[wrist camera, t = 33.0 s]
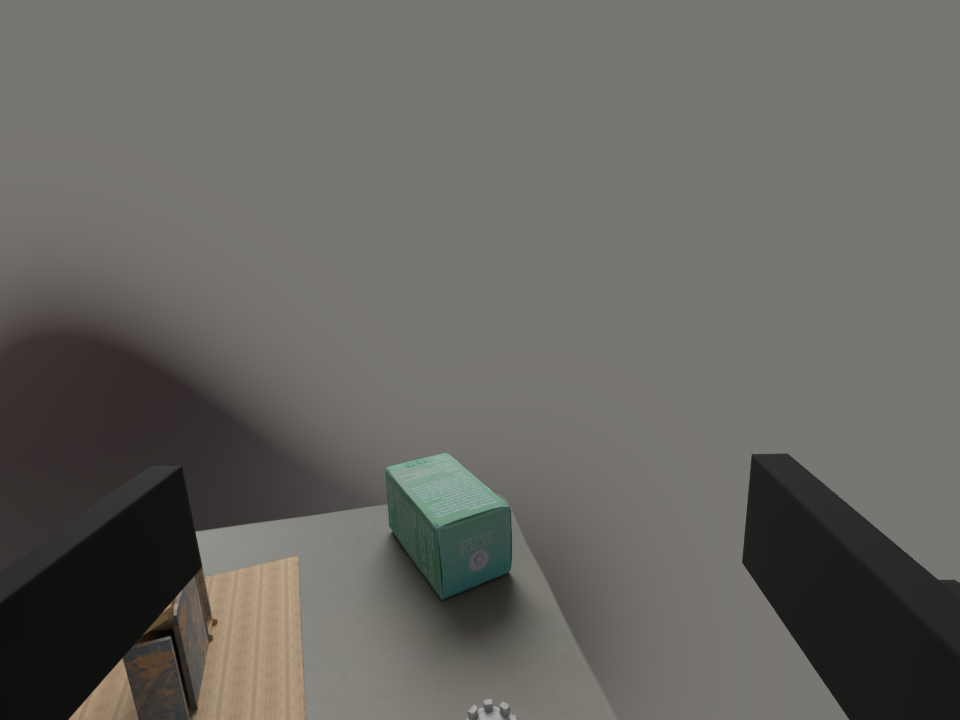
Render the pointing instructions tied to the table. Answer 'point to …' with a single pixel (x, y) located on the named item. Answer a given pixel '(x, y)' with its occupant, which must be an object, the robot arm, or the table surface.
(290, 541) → the table surface
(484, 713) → the rook chess piece
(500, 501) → the box
